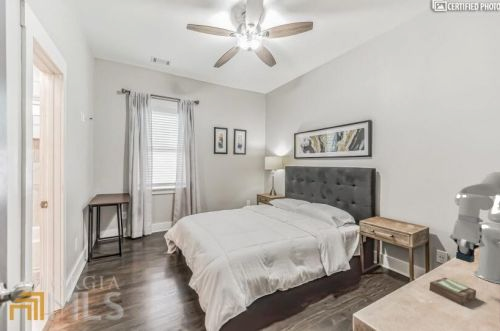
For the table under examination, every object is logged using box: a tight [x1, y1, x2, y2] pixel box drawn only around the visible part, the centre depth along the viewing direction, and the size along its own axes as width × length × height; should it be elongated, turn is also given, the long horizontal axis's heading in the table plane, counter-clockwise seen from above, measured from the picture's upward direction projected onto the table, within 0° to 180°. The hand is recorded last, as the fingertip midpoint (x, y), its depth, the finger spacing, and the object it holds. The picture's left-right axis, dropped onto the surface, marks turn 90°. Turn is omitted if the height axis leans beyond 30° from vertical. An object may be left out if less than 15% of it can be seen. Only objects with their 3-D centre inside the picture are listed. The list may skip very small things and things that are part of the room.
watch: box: [455, 239, 475, 264], centre depth 112 cm, size 6×8×11 cm
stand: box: [429, 277, 477, 306], centre depth 106 cm, size 14×12×4 cm
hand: (465, 254), depth 112 cm, fingers closed on watch, 3 cm apart
